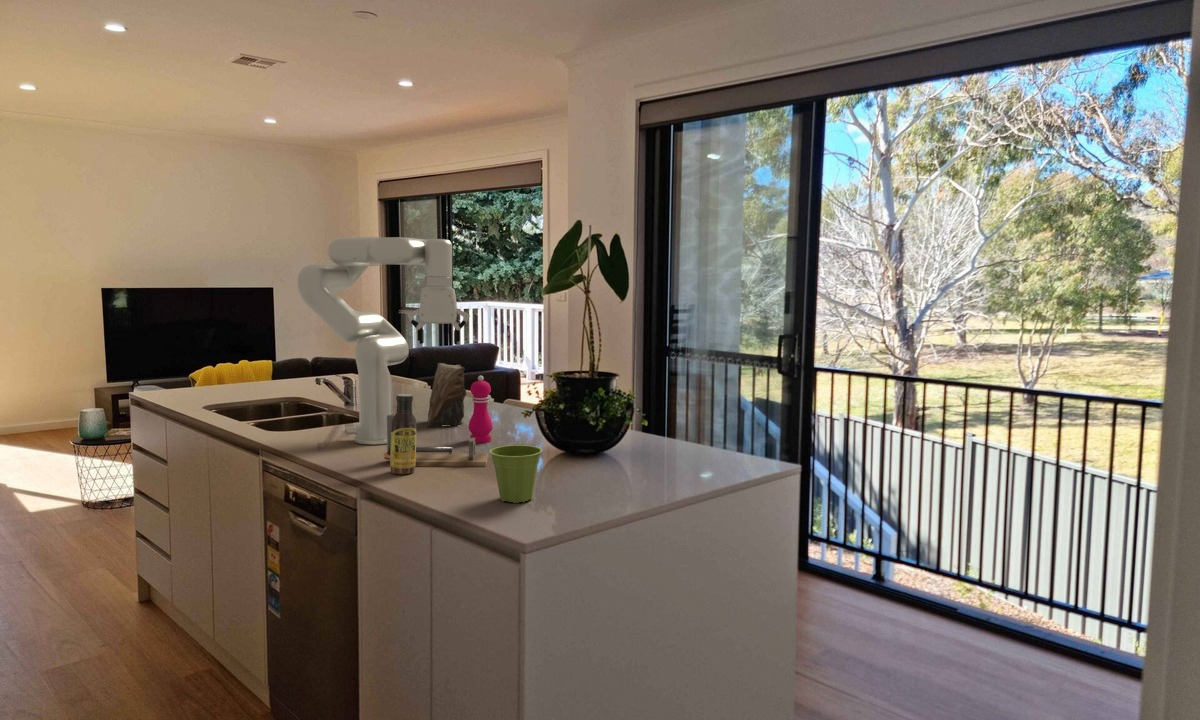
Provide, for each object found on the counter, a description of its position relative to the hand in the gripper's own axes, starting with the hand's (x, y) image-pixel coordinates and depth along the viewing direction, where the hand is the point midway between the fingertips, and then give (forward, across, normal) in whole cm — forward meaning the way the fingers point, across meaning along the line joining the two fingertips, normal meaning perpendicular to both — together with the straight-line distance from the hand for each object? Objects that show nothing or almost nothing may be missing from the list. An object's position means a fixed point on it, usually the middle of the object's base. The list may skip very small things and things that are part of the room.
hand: (438, 343), depth 223 cm
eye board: (+30, +4, -17) cm, 35 cm away
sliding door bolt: (+29, -3, -17) cm, 34 cm away
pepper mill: (+31, +11, +10) cm, 34 cm away
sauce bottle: (+31, -5, -28) cm, 42 cm away
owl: (+31, -4, +37) cm, 48 cm away
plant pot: (+31, +24, -52) cm, 65 cm away
